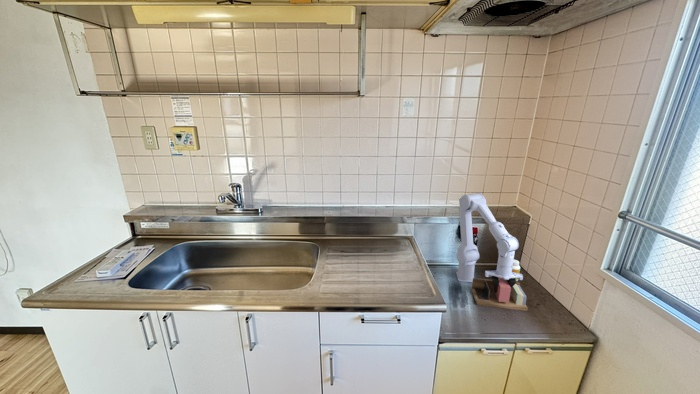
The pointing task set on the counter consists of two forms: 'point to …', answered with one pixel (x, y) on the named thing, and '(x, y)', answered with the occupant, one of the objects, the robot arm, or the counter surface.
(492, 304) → the shelf
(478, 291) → the bookend
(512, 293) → the books
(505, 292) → the tall pink block
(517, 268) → the supplement bottle
